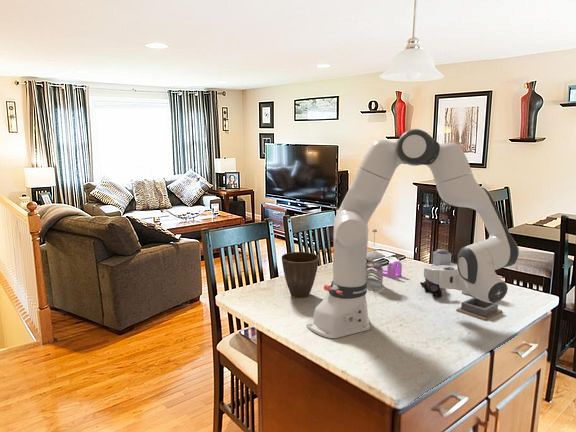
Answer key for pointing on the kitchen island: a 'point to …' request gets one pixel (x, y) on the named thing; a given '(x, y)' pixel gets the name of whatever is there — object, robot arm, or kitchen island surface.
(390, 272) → the bracket
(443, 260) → the cap block
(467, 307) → the collar
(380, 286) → the french press
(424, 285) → the night vision scope
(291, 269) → the plant pot
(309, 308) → the kitchen island surface
